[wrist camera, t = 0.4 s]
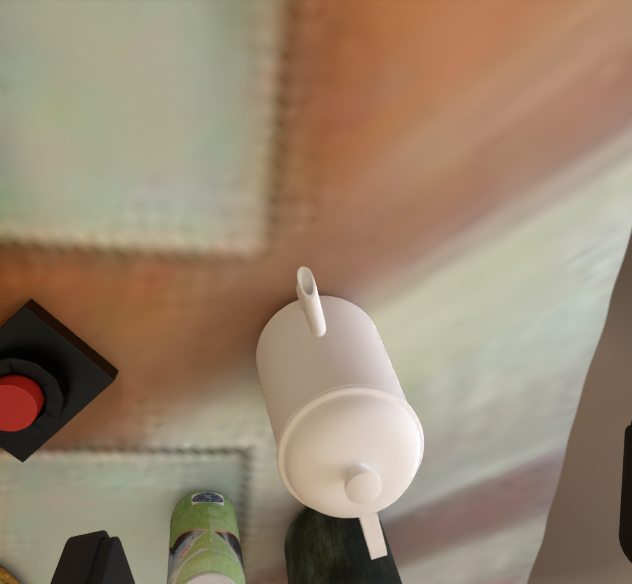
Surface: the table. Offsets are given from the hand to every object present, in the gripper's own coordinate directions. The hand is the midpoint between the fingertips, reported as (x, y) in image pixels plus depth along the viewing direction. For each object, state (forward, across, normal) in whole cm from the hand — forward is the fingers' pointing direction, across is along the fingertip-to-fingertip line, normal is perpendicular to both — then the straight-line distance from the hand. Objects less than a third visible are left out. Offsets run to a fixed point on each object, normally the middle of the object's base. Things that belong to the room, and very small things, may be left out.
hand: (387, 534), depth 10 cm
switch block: (+36, +22, +11) cm, 44 cm away
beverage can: (+36, +11, +28) cm, 47 cm away
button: (+33, +22, +11) cm, 41 cm away
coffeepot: (+36, -2, +13) cm, 39 cm away
